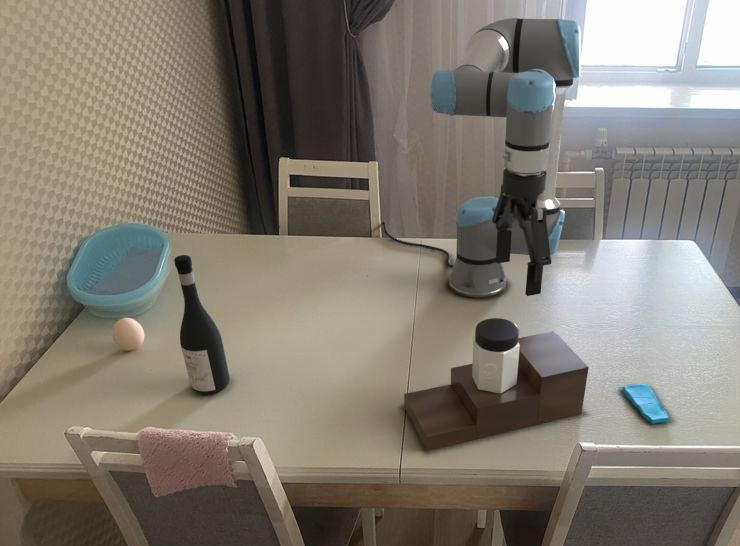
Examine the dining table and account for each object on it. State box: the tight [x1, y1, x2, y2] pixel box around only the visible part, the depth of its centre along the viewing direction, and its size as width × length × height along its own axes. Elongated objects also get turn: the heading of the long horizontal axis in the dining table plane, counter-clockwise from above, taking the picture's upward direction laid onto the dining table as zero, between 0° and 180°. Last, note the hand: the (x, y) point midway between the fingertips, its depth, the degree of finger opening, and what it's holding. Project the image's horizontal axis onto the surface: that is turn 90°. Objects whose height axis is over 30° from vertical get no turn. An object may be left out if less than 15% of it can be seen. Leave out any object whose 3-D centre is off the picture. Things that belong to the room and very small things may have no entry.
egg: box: [111, 317, 145, 352], centre depth 155 cm, size 7×7×8 cm
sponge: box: [623, 383, 670, 425], centre depth 139 cm, size 2×12×6 cm
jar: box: [471, 317, 520, 394], centre depth 130 cm, size 9×8×12 cm
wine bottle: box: [173, 254, 230, 396], centre depth 137 cm, size 8×8×30 cm
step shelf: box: [403, 330, 589, 452], centre depth 135 cm, size 14×33×12 cm, turn 110°
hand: (517, 277), depth 130 cm, fingers open, 13 cm apart
